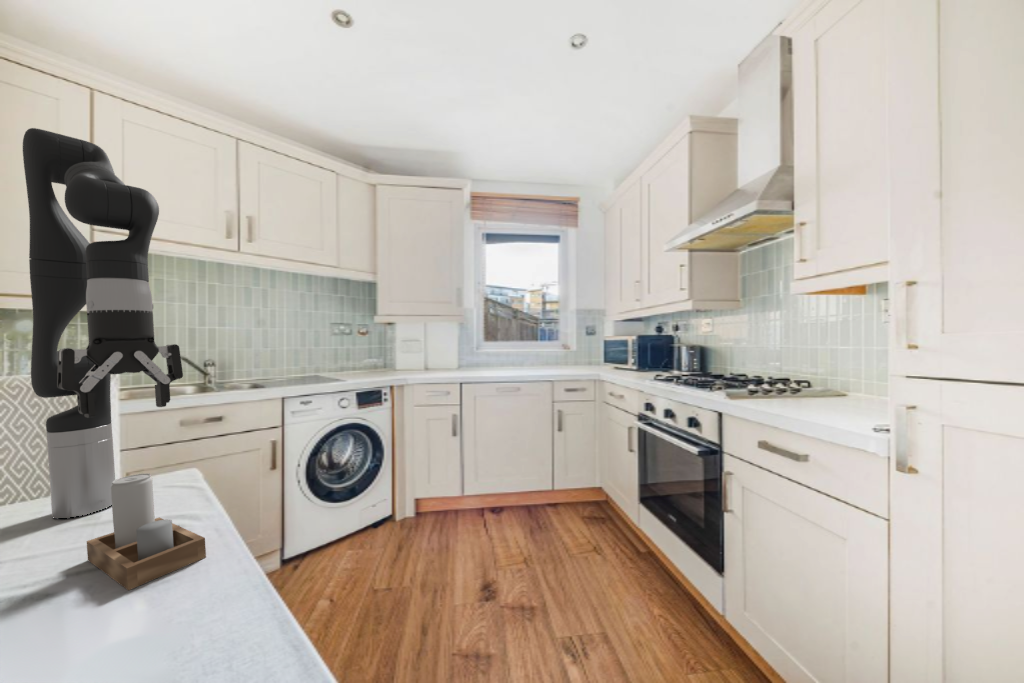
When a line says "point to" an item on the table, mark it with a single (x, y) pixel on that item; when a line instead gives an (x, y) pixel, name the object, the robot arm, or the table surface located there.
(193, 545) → the rack
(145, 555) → the stub
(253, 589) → the table surface
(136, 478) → the beverage can
